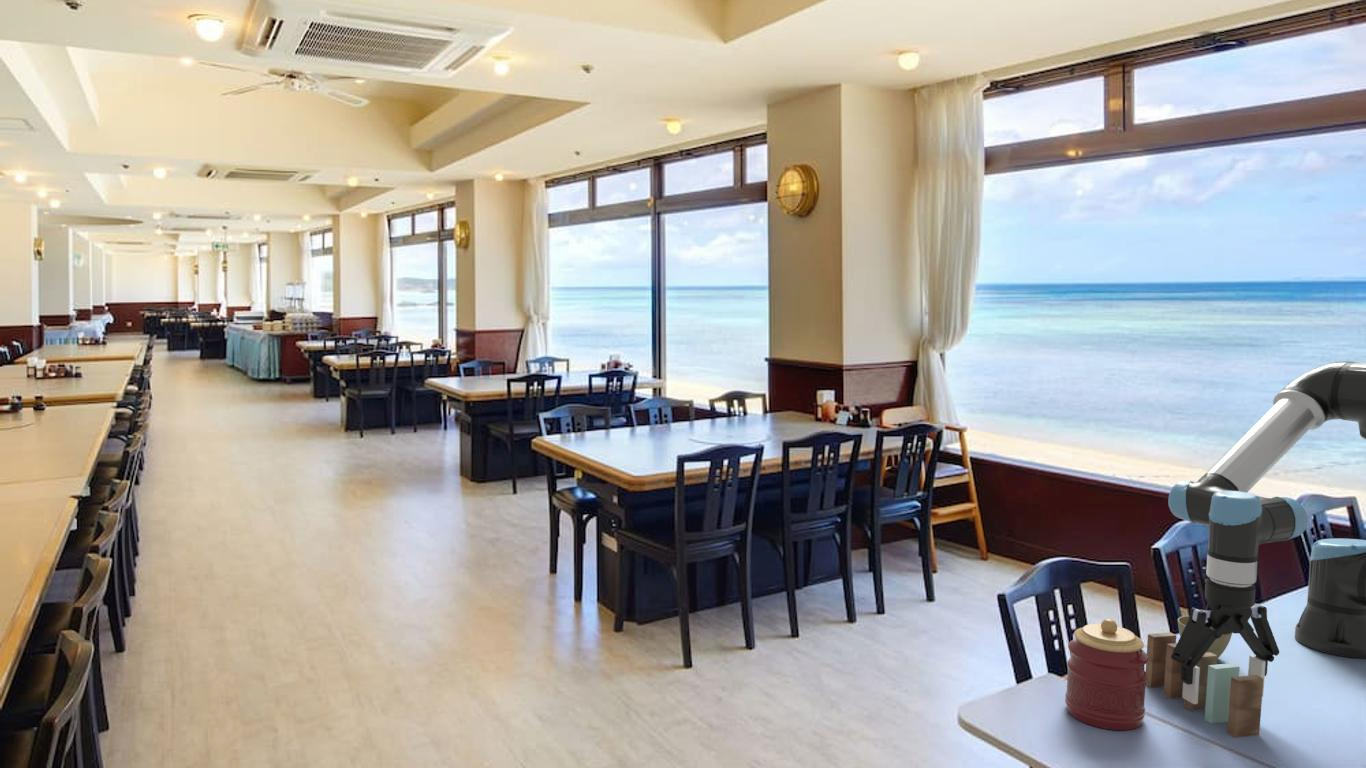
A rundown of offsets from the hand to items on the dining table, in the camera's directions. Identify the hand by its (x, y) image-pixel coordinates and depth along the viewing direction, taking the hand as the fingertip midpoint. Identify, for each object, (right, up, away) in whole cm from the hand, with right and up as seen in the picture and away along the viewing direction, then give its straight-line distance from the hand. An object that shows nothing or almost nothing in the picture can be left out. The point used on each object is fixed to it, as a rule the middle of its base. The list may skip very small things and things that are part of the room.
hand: (1222, 697), depth 160 cm
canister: (-20, -4, +2) cm, 21 cm away
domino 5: (+1, -5, -5) cm, 7 cm away
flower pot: (+13, -2, +29) cm, 31 cm away
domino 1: (-3, -3, +15) cm, 16 cm away
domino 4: (0, -4, 0) cm, 4 cm away
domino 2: (-2, -3, +10) cm, 11 cm away
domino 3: (-1, -4, +5) cm, 6 cm away
